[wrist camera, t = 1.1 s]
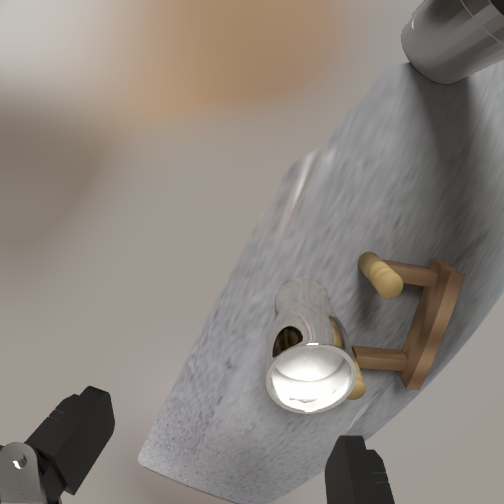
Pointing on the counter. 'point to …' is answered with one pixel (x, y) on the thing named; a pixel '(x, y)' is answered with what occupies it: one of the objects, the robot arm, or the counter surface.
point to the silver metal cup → (308, 351)
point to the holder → (424, 323)
